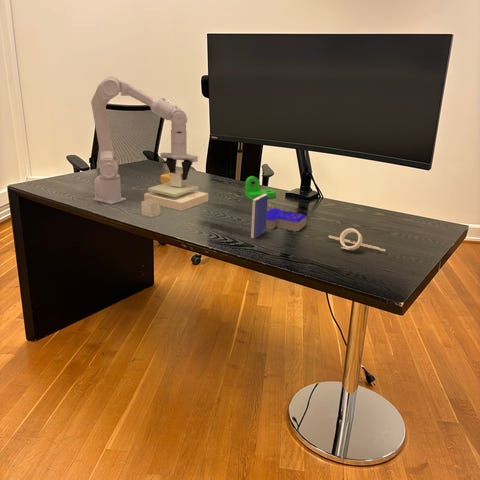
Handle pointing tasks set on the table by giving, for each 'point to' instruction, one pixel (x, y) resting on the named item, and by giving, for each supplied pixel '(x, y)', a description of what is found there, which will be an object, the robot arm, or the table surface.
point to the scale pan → (172, 189)
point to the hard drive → (259, 215)
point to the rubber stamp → (165, 178)
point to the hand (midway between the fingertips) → (179, 178)
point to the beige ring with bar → (357, 245)
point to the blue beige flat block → (285, 220)
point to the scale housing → (179, 200)
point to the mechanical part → (256, 189)
